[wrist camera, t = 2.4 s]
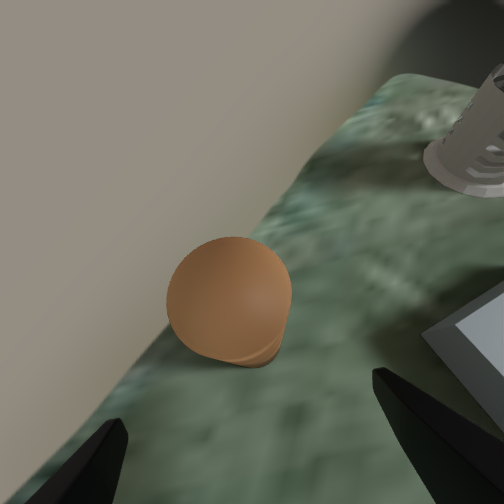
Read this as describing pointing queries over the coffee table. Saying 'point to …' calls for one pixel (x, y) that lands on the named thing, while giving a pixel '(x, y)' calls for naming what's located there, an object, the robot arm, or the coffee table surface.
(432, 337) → the socket block
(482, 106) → the french press
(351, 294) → the coffee table surface
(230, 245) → the peg
